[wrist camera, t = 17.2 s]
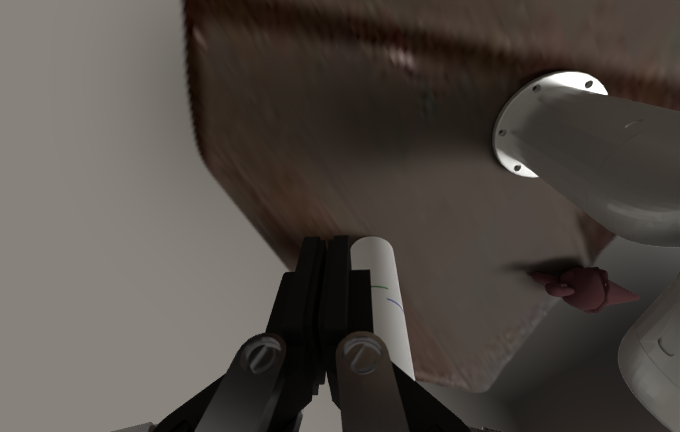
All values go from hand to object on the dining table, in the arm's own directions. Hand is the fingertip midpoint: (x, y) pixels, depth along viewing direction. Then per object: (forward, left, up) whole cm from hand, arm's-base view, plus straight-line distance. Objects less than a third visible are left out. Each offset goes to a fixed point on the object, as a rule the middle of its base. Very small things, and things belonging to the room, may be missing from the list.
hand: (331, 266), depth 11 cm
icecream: (-35, +29, -29) cm, 54 cm away
